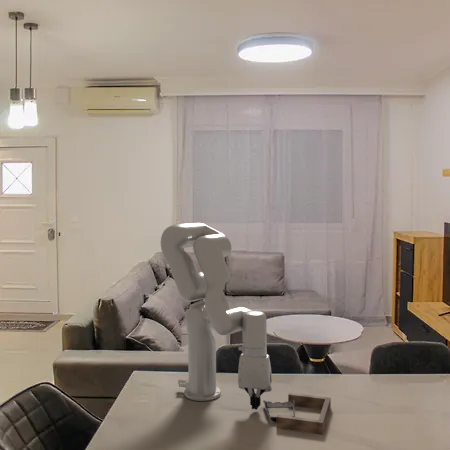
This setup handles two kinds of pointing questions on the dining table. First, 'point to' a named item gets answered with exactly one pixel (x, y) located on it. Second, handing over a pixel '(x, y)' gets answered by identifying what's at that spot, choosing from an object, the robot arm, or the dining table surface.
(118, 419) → the dining table surface
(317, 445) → the dining table surface
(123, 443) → the dining table surface
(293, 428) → the frame
